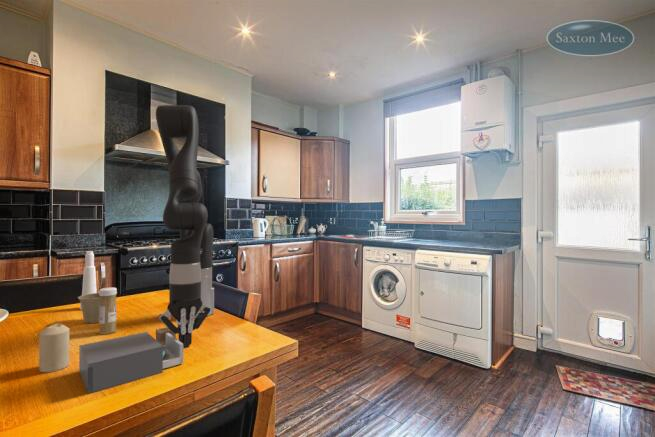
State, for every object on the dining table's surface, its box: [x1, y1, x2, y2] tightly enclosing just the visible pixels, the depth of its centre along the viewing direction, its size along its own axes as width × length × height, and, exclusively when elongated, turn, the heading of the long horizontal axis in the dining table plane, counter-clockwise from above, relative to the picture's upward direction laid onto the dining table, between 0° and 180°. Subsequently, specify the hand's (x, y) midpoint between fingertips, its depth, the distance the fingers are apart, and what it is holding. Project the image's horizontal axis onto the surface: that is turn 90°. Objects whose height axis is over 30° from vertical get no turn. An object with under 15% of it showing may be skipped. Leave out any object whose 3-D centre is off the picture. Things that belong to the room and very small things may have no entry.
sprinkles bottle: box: [98, 287, 118, 335], centre depth 103 cm, size 5×5×14 cm
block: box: [155, 326, 177, 346], centre depth 94 cm, size 4×4×4 cm
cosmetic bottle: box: [79, 250, 98, 311], centre depth 129 cm, size 6×6×22 cm
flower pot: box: [77, 292, 100, 324], centre depth 114 cm, size 9×9×9 cm
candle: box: [38, 322, 70, 374], centre depth 79 cm, size 6×6×10 cm
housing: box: [78, 331, 164, 394], centre depth 77 cm, size 14×13×6 cm
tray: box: [163, 333, 184, 370], centre depth 81 cm, size 13×11×5 cm
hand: (185, 347), depth 86 cm, fingers closed
